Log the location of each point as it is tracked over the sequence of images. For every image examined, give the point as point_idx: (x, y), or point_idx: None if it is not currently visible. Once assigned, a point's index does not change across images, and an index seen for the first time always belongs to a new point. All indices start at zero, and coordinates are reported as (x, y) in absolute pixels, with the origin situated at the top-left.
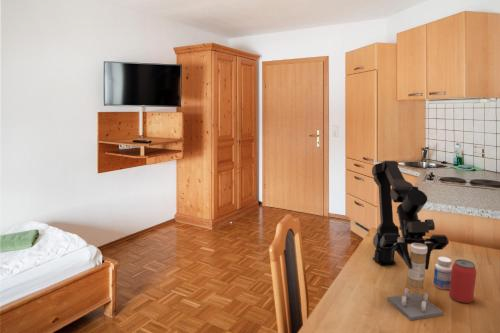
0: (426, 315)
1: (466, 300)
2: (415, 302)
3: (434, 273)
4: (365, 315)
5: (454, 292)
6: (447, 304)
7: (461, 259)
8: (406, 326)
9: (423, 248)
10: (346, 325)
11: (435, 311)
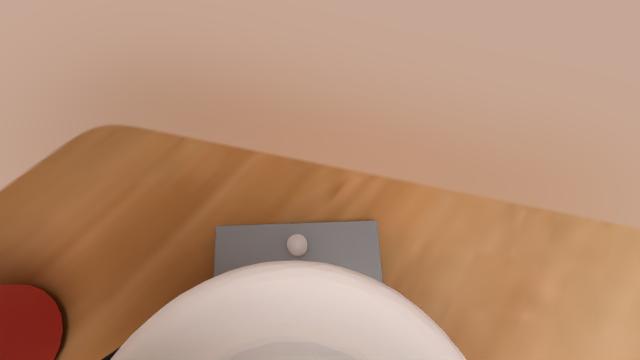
0: (301, 223)
1: (26, 286)
2: None
3: None
4: (539, 292)
5: (35, 333)
6: (130, 299)
7: None
8: (410, 193)
9: (299, 274)
10: (632, 244)
11: (246, 236)
